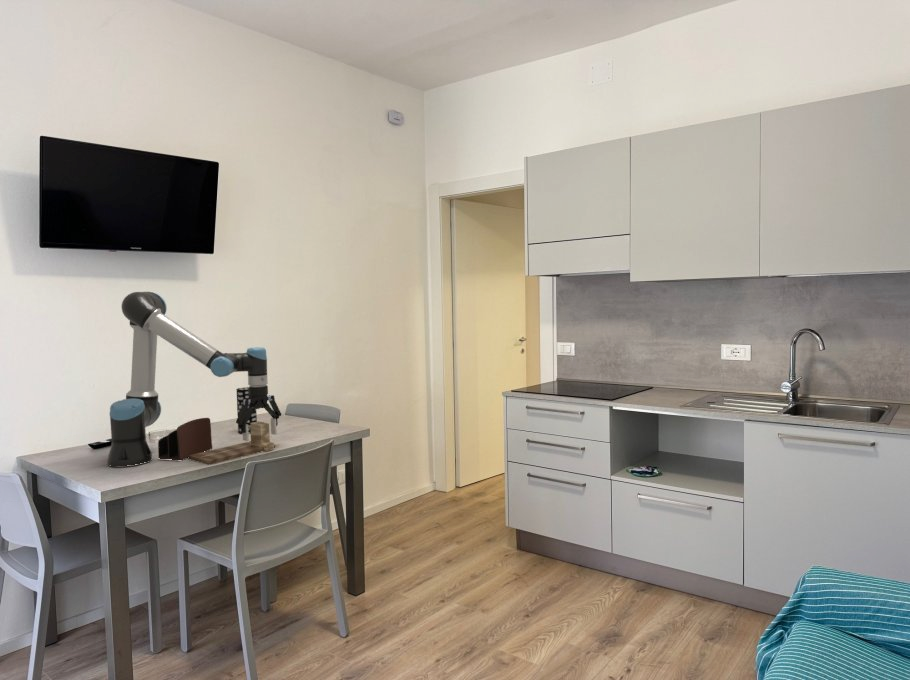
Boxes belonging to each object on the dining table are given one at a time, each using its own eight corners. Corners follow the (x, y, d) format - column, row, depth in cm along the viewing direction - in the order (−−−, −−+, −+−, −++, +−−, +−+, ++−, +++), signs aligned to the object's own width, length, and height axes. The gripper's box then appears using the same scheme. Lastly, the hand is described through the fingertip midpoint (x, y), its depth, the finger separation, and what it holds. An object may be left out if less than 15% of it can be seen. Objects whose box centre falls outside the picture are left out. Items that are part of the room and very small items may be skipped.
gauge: (265, 451, 259) (265, 426, 258) (243, 445, 267) (242, 421, 266) (274, 449, 262) (273, 424, 261) (251, 443, 270) (251, 419, 270)
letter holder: (212, 449, 265) (211, 415, 264) (180, 461, 246) (178, 425, 245) (191, 448, 268) (190, 414, 267) (158, 460, 249) (156, 424, 248)
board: (209, 464, 240) (209, 460, 240) (188, 459, 249) (188, 455, 249) (275, 448, 264) (275, 444, 264) (254, 443, 273) (254, 440, 273)
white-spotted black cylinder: (238, 434, 291) (237, 390, 290) (237, 430, 299) (235, 388, 298) (258, 432, 295) (256, 389, 293) (256, 429, 302) (254, 386, 301)
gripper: (236, 390, 250) (239, 444, 251) (288, 382, 270) (290, 432, 271) (225, 388, 254) (227, 442, 256) (277, 381, 274) (279, 430, 276)
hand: (260, 437), depth 263 cm, fingers open, 13 cm apart
